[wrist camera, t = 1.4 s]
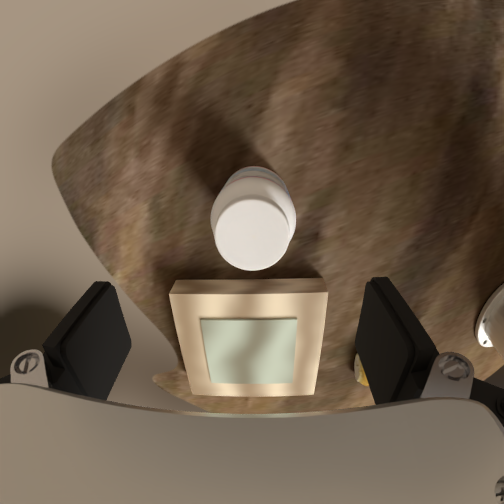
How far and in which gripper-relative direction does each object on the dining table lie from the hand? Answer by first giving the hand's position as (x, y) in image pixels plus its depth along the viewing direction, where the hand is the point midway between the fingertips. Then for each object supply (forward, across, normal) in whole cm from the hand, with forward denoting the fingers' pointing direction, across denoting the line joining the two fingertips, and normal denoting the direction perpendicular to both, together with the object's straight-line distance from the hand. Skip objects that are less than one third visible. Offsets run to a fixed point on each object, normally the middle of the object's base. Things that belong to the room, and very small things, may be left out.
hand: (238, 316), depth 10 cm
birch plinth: (+19, +1, +17) cm, 26 cm away
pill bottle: (+20, 0, 0) cm, 20 cm away
